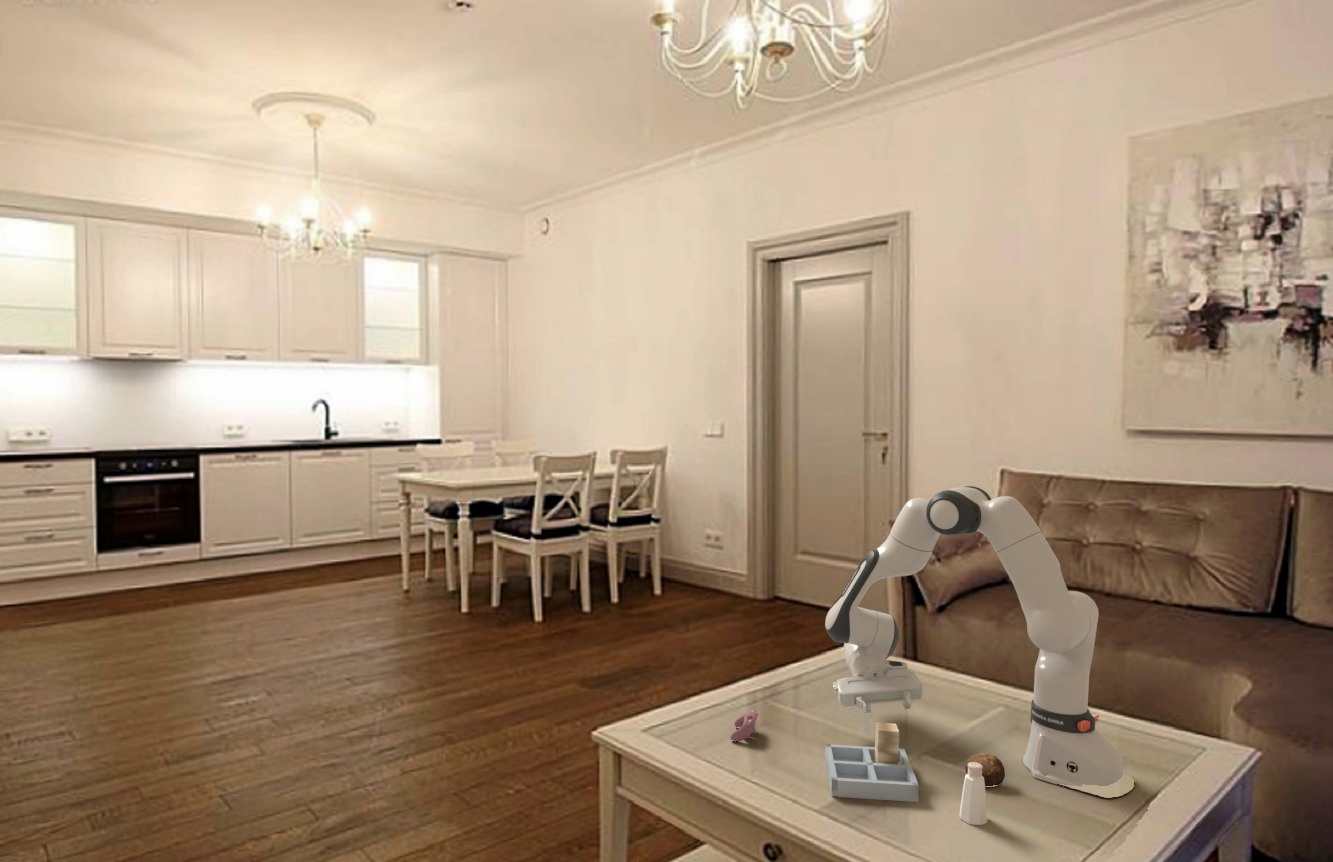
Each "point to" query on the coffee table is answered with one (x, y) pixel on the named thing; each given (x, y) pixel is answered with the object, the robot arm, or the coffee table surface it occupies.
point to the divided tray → (869, 774)
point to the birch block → (886, 743)
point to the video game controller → (745, 726)
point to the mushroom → (989, 768)
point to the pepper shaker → (974, 796)
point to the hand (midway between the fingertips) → (887, 708)
